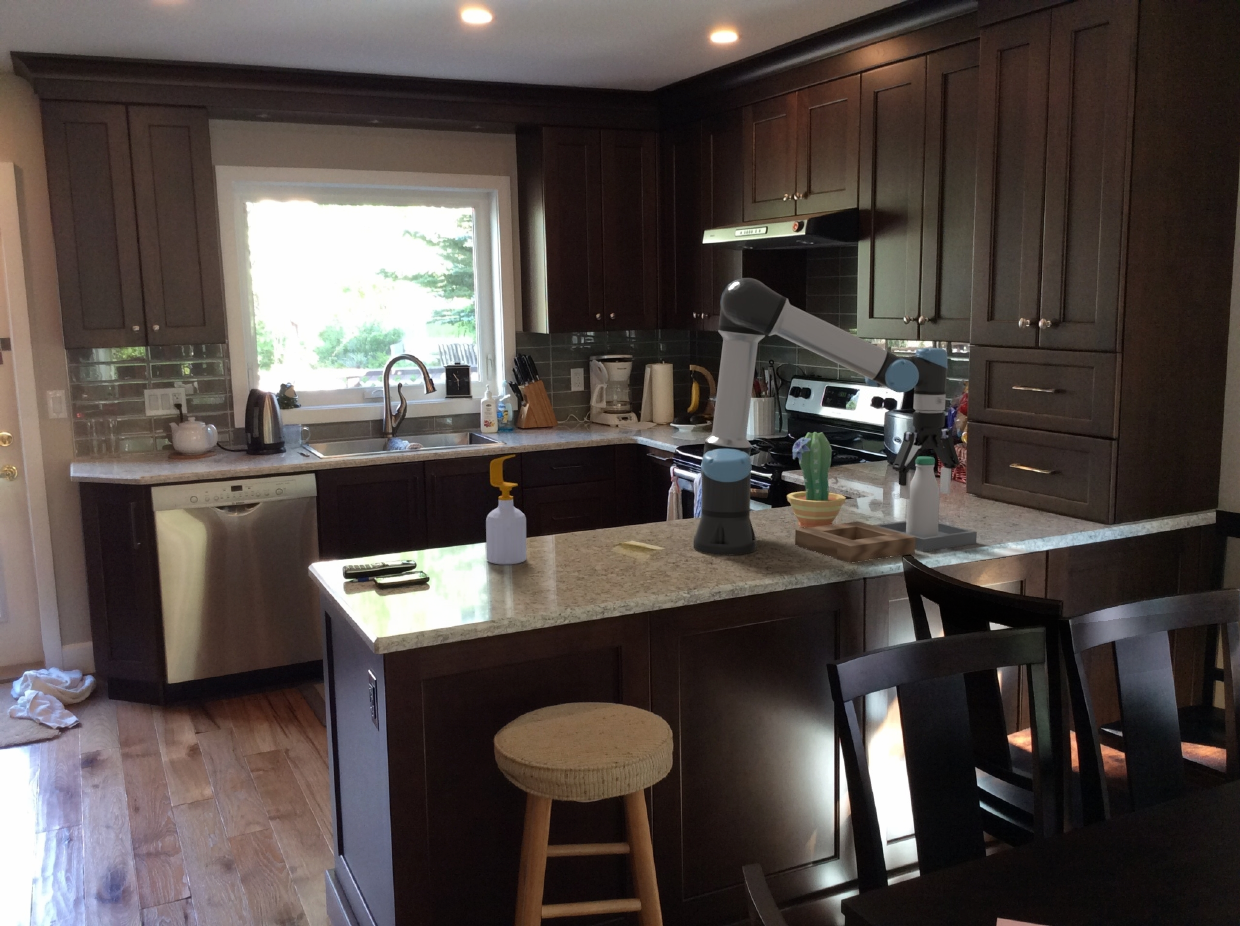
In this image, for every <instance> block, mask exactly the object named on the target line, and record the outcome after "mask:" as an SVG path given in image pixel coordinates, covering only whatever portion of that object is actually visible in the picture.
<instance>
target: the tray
mask: <svg viewBox="0 0 1240 926" xmlns="http://www.w3.org/2000/svg"><path fill="white" fill-rule="evenodd" d="M872 525H873V526H877V527H881V528H884V529H888V530H892V531H895V532H899V533H903V534H906V535H910V536H914V537H916V538H915V551H920V552H928V551H934V550H935V551H936V550H941V549H948V548H949V549H950V548H953V547H954V548H955V547H962V546H968V545H975V544H977V538H978V537H977V535H978V531H976V530H972V529H968V528H964V527H960V526H957V525H956V526H955V525H953V524H952V525H951V524H948V523H944V522H940V521H939V524H938V536H932V537H925V538H922V537H918V536H915V535H911V534H907V533H906V520H901V521H893V522H886V523H878V524H872Z"/></svg>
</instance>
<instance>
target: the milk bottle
mask: <svg viewBox="0 0 1240 926" xmlns="http://www.w3.org/2000/svg"><path fill="white" fill-rule="evenodd" d="M914 464H915V471H914V474H913V477H912V479H911V481H910V499H906V501H907V503H906V519H905V521H906V533H907V534H911V535H915V536H918V537H922V538H925V537H932V536H938V524H939V522H940V521H939V520H940V519H939V517H940V498H941V496H940V494H941V493H940V485H939V483H938V480H937V479H936V476H935V472H934V471H935V469H934V467H935V464H936V460H935V458H934V457H933V456H927V455H925V456H924V455H923V456H920V455H919V456H918V457H917V459H916V460H915V462H914Z"/></svg>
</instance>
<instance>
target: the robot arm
mask: <svg viewBox="0 0 1240 926" xmlns="http://www.w3.org/2000/svg"><path fill="white" fill-rule="evenodd" d="M719 301H720V305H719V306H720V314H719V318H718V319H719V321H718V330H717V331H718V333H719V334H720V335H721V337H722V340H723V341H722V349H721V356H720V357H721V358H720V365H719V373H718V380H717V381H718V382H717V390H716V397H715V398H716V399H715V406H714V412H713V413H714V414H713V415H714V416H713V424H712V431H711V434H710V435H709V436H708V437H707V438H706V439H705V440H704V447H703V455H702V458H701V459H702V460H701V464H700V476H701V503H700V504H701V507H700V509H701V514H700V518H699V521H698V522H699V523H698V525H697V528H696V531H695V535H694V537H693V549H694V550H695V551H697V552H700V553H704V554H708V555H716V556H736V555H737V556H740V555H746V554H750V553H753V552H755V551H757V538H756V535H755V531H754V528H753V527H754V526H753V525H752V522H751V521H752V520H751V516H750V515H751V475H752V473H751V472H752V459H751V450H752V444H751V443H750V442H749V440H748V438H747V434H748V433H747V432H748V426H749V419H750V418H749V417H750V410H751V401H752V400H751V399H752V392H753V386H754V385H753V384H754V379H755V378H754V377H755V369H756V361H757V354H758V345H759V344H758V343H759V342H760V341H762V339H764V338H765V337H766V335H767V336H769V337H771V336H773V335H777V336H778V337H780V338H783V339H784V340H788V341H789V342H791V343H793V344H795V345H797V346H800V347H801V348H804V349H806V350H807V351H808V350H809V351H810V352H813V353H815V354H817V355H819V356H821V357H823V358H825V359H827V360H829V361H832V362H834V363H836V364H838V365H839V366H841V367H844V368H846V369H848V370H850V371H852V372H855V373H857V374H858V375H860V376H863V377H864V380H865V384H866V385H867V386H868V387H876V388H880V387H881V388H882V387H883V388H884V387H885V388H887V389H890V390H891V391H893V392H895V393H899V394H901V393H907V392H909V391H911V390H913V391H914V392H913V405H912V406H913V407H912V408H913V409H914V410H915V411H914V412H912V426H913V428H914V432H912V431H904V432H903V439H902V442H901V445H900V448H899V450H898V452H897V454H896V457H895V459H894V463H893V464H892V470H895V471H896V472H898V485H899V498H900V499H904V500H907V499H910V482H911V480H912V479H911V478H912V475H911V474H912V473H911V472H909V471H910V469H912V466H913V465H914V464H915V461H916V459H917V457H920V454H921V453H922V452H923V451H924V450H928V449H932V450H933V451H934V452H935V454H936V455H937V457H938V459H939V460H940V463H941V465H942V466H943V467H940V481H939V492H940V494H942V495H943V494H944V495H951V481H952V480H953V470H956V469H957V466H959V465H960V460H959V456H958V452H957V450H956V447H955V444H954V440H953V435H952V432H953V431H952V430H951V429H949V428H944V427H945V418H946V413H945V412H943V411H945V410H946V395H947V394H946V393H947V392H946V391H947V377H948V376H947V375H948V368H949V367H948V352H947V350H946V349H945V348H939V347H920V348H917V349H916V350H915V354H914V355H911V356H910V355H909V356H901V355H900V356H899V355H896V354H894V353H893V352H891V351H890V352H889V351H887V350H886V349H885V348H881V347H880V346H877V345H876V344H873V343H871V342H869V341H867V340H864V339H863V338H861V337H858V335H854V334H853V333H851V332H849V331H846V330H844V329H842V328H840V327H838V326H835V325H834V324H831V323H829V322H827V321H826V320H823V319H822V318H820V317H818V316H815V315H813V314H810V313H809V312H806V311H804V310H802V309H800V308H798V307H796V306H794V305H792V304H791V303H790V301H789V298H787V297H785V296H783V295H782V294H780V293H777V292H776V291H775V290H772V288H770V287H768V286H767V285H765V284H764V283H763V282H762V281H760V280H758V279H755V278H752V277H742V278H738V279H735V280H733V281H731V282H730V283H728V285H727V286H726V287H725V288H724V290H723V291H722V294H721V296H720V300H719Z"/></svg>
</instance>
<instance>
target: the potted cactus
mask: <svg viewBox="0 0 1240 926" xmlns="http://www.w3.org/2000/svg"><path fill="white" fill-rule="evenodd" d="M832 453H833V449H832V446H831V444H830V441H829V440H828V438H827V437H826V436H825V434H824V432H817V431H814V432H807V433H806V435H805V436H803V437H800V438H799V439H798V440H796V441H795V442H794V444H793V446H792V459H793V460H796V458H798V463H799V467H800V469H801V473H802V475H803V480H804V487H805V488H804V489H805V491H797V492H796V491H795V492H791V493H788V494H787V495H786V499H787V502H788V503H790V506H791V509H792V512H793V514H794V515H795V518H796V520H797V521H798V524H799V525H800V526H801V527H800V526H799V527H800V528H802V527H805V528H811V527H818V526H826V525H833V521H834V520H835V519H836V518H837V517H838V515H839V513H840V511H841V508H842V506H843V505H844V504H845V503H846V499H847V497H846V496H844V495H843V494H841V493H840V494H839V493H834V492H830V491H829V472H830V469H831V464H832ZM798 524H797V525H798Z"/></svg>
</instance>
